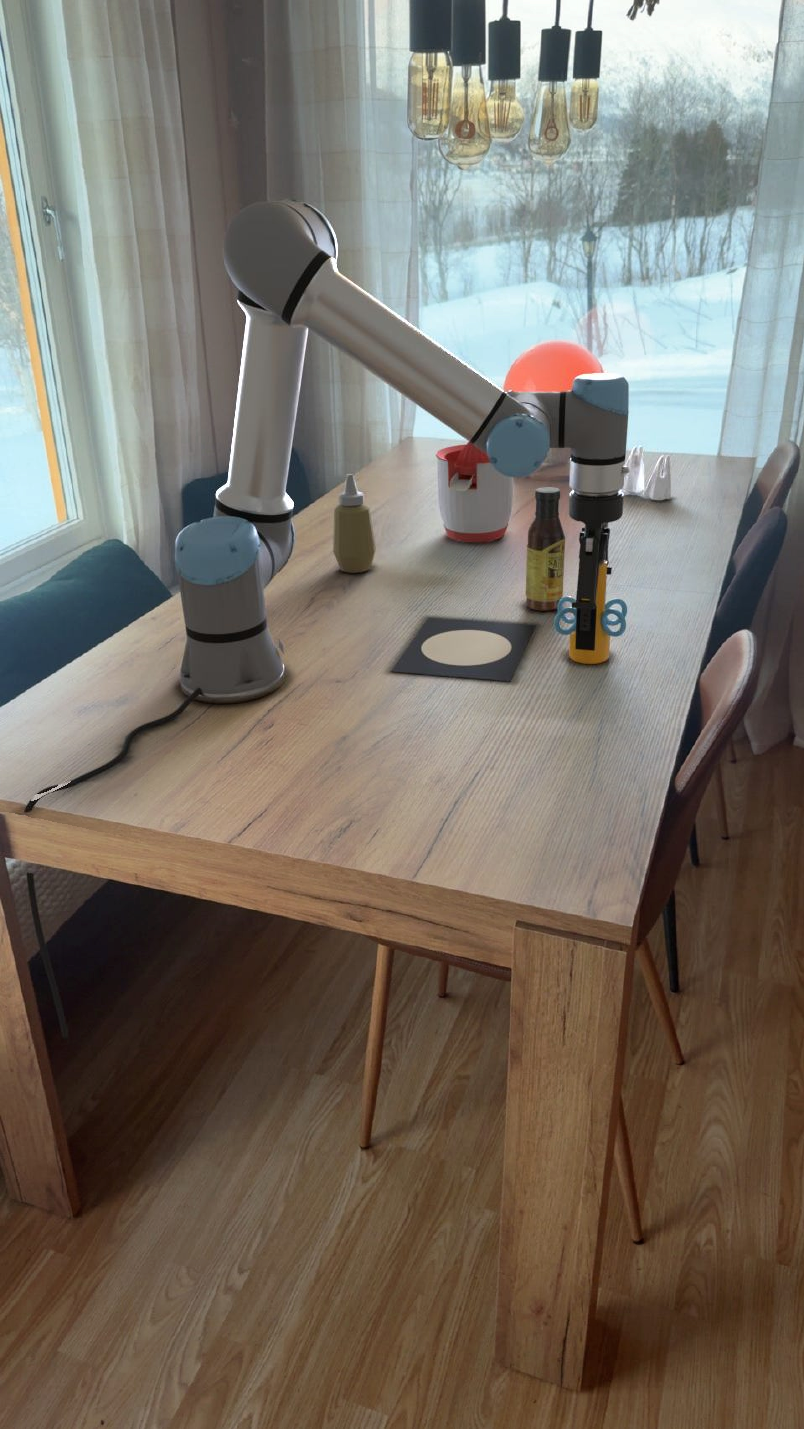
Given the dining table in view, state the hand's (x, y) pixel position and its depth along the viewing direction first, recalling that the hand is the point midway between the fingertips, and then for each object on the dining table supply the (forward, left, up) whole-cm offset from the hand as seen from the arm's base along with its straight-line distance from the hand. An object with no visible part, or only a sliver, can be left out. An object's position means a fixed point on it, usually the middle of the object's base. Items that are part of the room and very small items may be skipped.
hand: (590, 632), depth 158 cm
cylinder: (0, 0, -4) cm, 4 cm away
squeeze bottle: (+33, +48, -4) cm, 58 cm away
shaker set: (+91, -1, -4) cm, 91 cm away
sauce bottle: (+20, +10, -4) cm, 23 cm away
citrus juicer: (+56, +30, -4) cm, 64 cm away
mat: (0, +19, -4) cm, 20 cm away
